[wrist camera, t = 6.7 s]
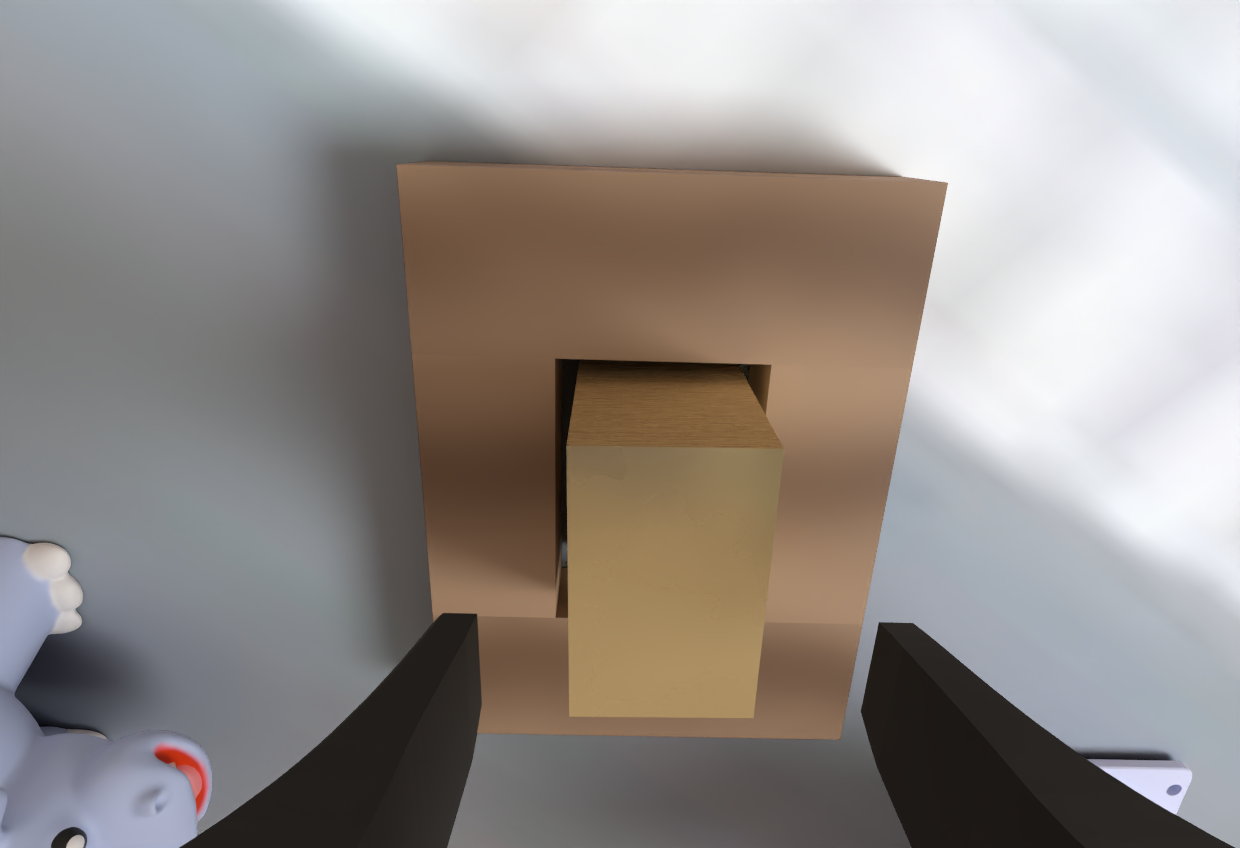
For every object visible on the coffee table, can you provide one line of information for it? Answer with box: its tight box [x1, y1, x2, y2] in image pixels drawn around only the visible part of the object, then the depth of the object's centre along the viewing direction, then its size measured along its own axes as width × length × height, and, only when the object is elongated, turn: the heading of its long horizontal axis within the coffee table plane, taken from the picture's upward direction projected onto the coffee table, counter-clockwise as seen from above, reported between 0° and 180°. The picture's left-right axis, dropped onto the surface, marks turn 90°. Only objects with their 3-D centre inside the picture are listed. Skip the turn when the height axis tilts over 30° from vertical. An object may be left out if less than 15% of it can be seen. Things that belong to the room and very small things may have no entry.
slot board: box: [396, 161, 948, 740], centre depth 20 cm, size 16×12×2 cm
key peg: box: [566, 359, 784, 718], centre depth 17 cm, size 4×6×7 cm, turn 179°
